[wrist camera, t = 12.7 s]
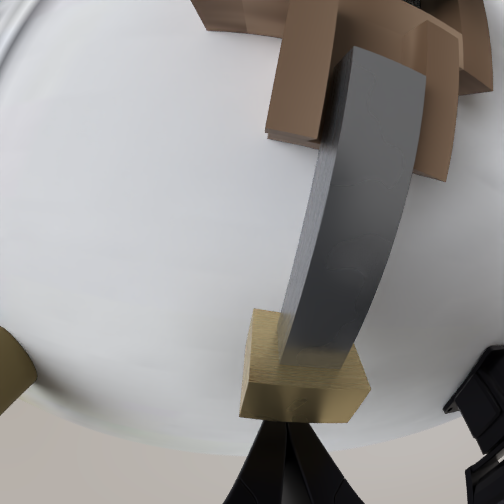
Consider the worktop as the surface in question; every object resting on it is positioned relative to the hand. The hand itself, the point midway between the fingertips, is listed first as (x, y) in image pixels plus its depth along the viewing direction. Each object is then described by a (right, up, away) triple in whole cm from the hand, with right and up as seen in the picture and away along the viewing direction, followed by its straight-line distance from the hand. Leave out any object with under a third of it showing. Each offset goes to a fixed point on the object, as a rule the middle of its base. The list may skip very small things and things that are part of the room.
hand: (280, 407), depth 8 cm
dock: (+3, +15, -2) cm, 15 cm away
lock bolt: (+1, +6, -1) cm, 6 cm away
